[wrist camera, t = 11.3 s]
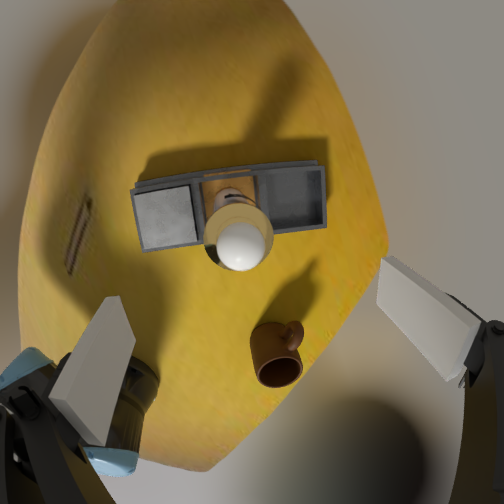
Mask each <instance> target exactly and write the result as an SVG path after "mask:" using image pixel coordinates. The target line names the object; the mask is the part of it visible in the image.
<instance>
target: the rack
mask: <svg viewBox="0 0 504 504" xmlns="http://www.w3.org/2000/svg"><path fill="white" fill-rule="evenodd" d="M228 188H233V189H237V190H239V191H240V192H241V193H242V194H244V195H245V196H247V198H248V197H249V198H250V199H251V200H253V201H254V202H255V203H256V204H257V205H256V204H255V203H254V202H252V201H251V200H249V199H247V201H248V202H249V204H250V205H253V206H255V207H257V208H258V209H261V210H262V212H263V213H264V214H265V215H266V216H267V218H268V219H269V221H270V223H271V225H272V228H273V233H274V234H281V233H289V232H297V231H305V230H313V229H321V228H327V210H326V184H325V166H323V165H318V162H317V160H303V161H287V162H274V163H262V164H252V165H243V166H234V167H226V168H218V169H210V170H203V171H196V172H190V173H184V174H178V175H172V176H166V177H160V178H155V179H150V180H145V181H140V182H136V183H135V188H133V189H131V190H130V194H131V200H132V206H133V211H134V216H135V221H136V226H137V231H138V235H139V240H140V244H141V248H142V253H144V252H151V251H158V250H164V249H171V248H178V247H185V246H192V245H199V244H204V240H203V236H204V229H205V226H206V223H207V221H208V219H209V218H210V216H211V215H212V214H213V203H214V199H215V197H216V195H217V194H218V193H219V192H220V191H222V190H224V189H228ZM258 206H259V207H260V208H259V207H258Z"/></svg>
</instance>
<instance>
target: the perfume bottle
mask: <svg viewBox="0 0 504 504" xmlns="http://www.w3.org/2000/svg"><path fill="white" fill-rule="evenodd" d="M247 199H249V200H251V199H250V198H249V197H248V198H247V196H245V195H244V194H242V193H241V192H240V191H239V190H237V189H233V188H228V189H224V190H222V191H220V192H219V193H218V194H217V195H216V197H215V199H214V203H213V214H212V215H211V216H210V218H209V219H208V221H207V223H206V226H205V229H204V236H203V240H204V246H205V250H206V252H207V254H208V256H209V257H210V258H211V259H212V261H213V262H215V263H216V264H217V265H218V266H220V267H222V268H224V269H228V270H232V271H246V270H250V269H252V268H254V267H255V266H257V265H258V264H260V263H261V262H262V261H263V260H264V259H265V258H266V257H267V255H268V254H269V253H270V250H271V248H272V245H273V239H274V233H273V228H272V225H271V223H270V221H269V219H268V218H267V216H266V215H265V214H264V213H263V212H262V210H261V209H258V208H257V207H255V206H253V205H250V204H249V202H248V201H247ZM251 201H252V202H254V201H253V200H251ZM254 203H255V202H254ZM255 204H256V203H255ZM256 205H257V204H256ZM258 207H259V206H258ZM259 208H260V207H259Z"/></svg>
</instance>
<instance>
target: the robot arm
mask: <svg viewBox="0 0 504 504" xmlns="http://www.w3.org/2000/svg"><path fill="white" fill-rule="evenodd" d="M376 304H377V305H378V306H379V307H380V308H381V309H382V310H383V312H385V313H386V315H387V316H388V317H389V318H390V319H391V320H392V321H393V322H394V323H395V324H396V325H397V326H398V328H400V330H401V331H402V332H403V333H404V334H405V335H406V336H407V337H408V338H409V340H410V341H411V342H412V343H413V344H414V345H415V346H416V347H417V348H418V349H419V351H420V352H421V353H422V354H423V355H424V356H425V357H426V359H427V360H428V361H429V362H430V363H431V364H432V365H433V367H434V368H435V369H436V370H437V371H438V373H439V374H440V375H441V376H442V377H443V378H444V380H445V381H446V382H447V381H449V380H450V379H452V378H454V377H456V376H457V375H458V374H459V372H460V370H461V368H462V366H463V364H464V365H465V366H466V367H467V370H466V372H465V374H464V376H463V378H462V379H461V381H460V383H459V388H460V387H461V386H462V384H463V382H465V386H464V387H463V388H465V403H464V420H463V432H462V440H461V448H460V454H459V461H458V466H457V472H456V476H455V481H454V485H453V489H452V493H451V497H450V501H449V504H504V323H503V322H501V321H497V320H492V321H489V322H488V323H487V322H486V321H484V320H483V319H482V318H481V317H479V316H478V315H477V314H476V313H474V312H473V311H472V310H471V309H469V308H467V306H466V305H464V304H463V303H461V302H460V301H459V300H458V299H456V298H455V297H454V296H452V295H449V294H447V293H445V292H443V291H442V290H440V289H439V288H438V287H436V286H435V285H434V284H432V283H431V282H429V281H428V280H426V279H425V278H424V277H422V276H421V275H420V274H418V273H417V272H415V271H414V270H413V269H411V268H410V267H408V266H407V265H405V264H404V263H402V262H401V261H399V260H398V259H397V258H395V257H394V256H390V257H384V258H381V265H380V276H379V284H378V293H377V300H376ZM135 342H136V339H135V337H134V334H133V332H132V329H131V327H130V324H129V321H128V319H127V316H126V313H125V311H124V308H123V305H122V302H121V299H120V296H111V297H106V298H105V299H104V301H103V303H102V304H101V306H100V307H99V309H98V310H97V312H96V313H95V315H94V317H93V318H92V320H91V321H90V323H89V325H88V326H87V328H86V329H85V331H84V333H83V334H82V336H81V338H80V339H79V341H78V343H77V345H76V346H75V348H74V350H73V352H69V353H68V354H67V355H65V356H64V357H63V358H62V359H61V360H60V362H59V364H58V366H57V365H56V364H55V363H54V361H53V360H50V359H49V358H48V357H47V356H45V355H44V354H43V353H42V352H41V351H40V350H39V349H37V348H35V347H28V348H26V349H25V350H24V351H23V352H22V353H20V354H19V356H17V357H16V358H15V359H14V360H13V362H12V363H11V364H10V365H9V366H8V367H7V368H6V369H5V370H4V371H3V373H2V374H1V375H0V504H116V503H115V501H114V500H113V498H112V497H111V495H110V494H109V492H108V491H107V489H106V488H105V486H104V484H103V483H102V481H101V480H100V478H99V476H98V475H97V473H99V474H102V475H107V476H115V477H123V476H128V475H131V474H132V473H133V472H134V471H135V469H136V464H137V461H138V458H139V448H140V441H141V434H142V428H143V421H144V416H145V413H146V412H147V410H148V409H149V407H150V406H151V404H152V403H153V401H154V400H155V398H156V396H157V392H158V386H159V384H158V379H157V377H156V375H155V374H154V372H153V371H152V370H151V369H150V368H149V367H148V366H147V365H146V364H144V363H143V362H142V361H140V360H138V359H137V358H135V357H132V356H131V354H132V351H133V348H134V345H135Z"/></svg>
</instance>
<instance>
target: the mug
mask: <svg viewBox="0 0 504 504" xmlns="http://www.w3.org/2000/svg"><path fill="white" fill-rule="evenodd" d="M292 335H293V336H292ZM303 337H304V328H303V326H302V324H301V323H300V322H298V321H291V322H289V323H288V324H287V325H286V326H284V325H282V324H279V323H266V324H263V325H261V326H259V327H258V328H256V329H255V330H254V332H253V333H252V335H251V337H250V348H251V354H252V359H253V365H254V369H255V373H256V376H257V379H258V381H259V382H260V383H261V384H262V385H264V386H266V387H270V388H280V387H284V386H287V385H289V384H291V383H293V382H295V381H296V380H297V379H298V378H299V377H300V375H301V373H302V370H303V365H302V362H301V358H300V355H299V353H298V350H297V348H298V347H299V346H300V344H301V342H302V340H303Z"/></svg>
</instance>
